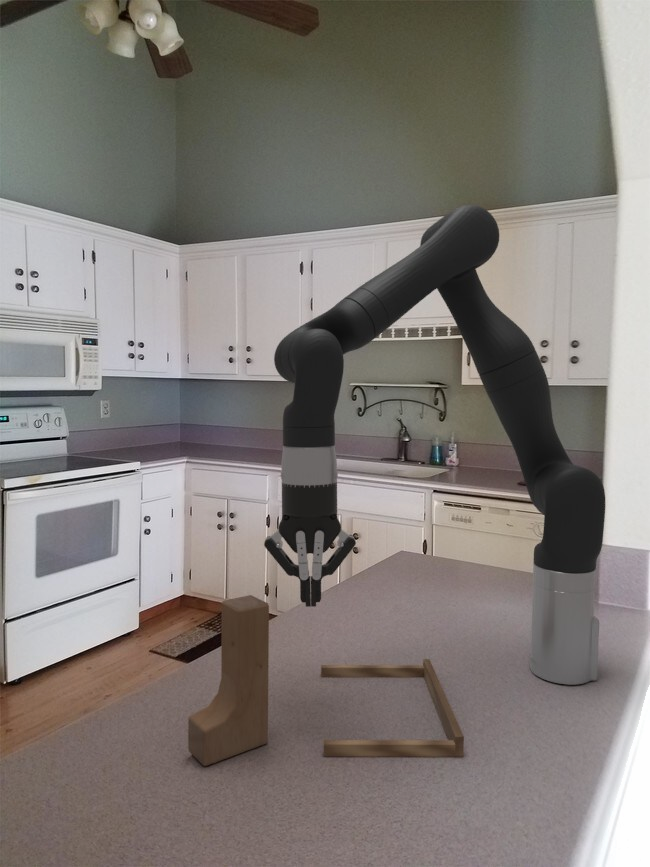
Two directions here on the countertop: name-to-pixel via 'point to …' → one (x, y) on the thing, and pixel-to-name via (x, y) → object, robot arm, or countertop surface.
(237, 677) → the wooden block
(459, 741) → the frame
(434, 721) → the countertop surface
